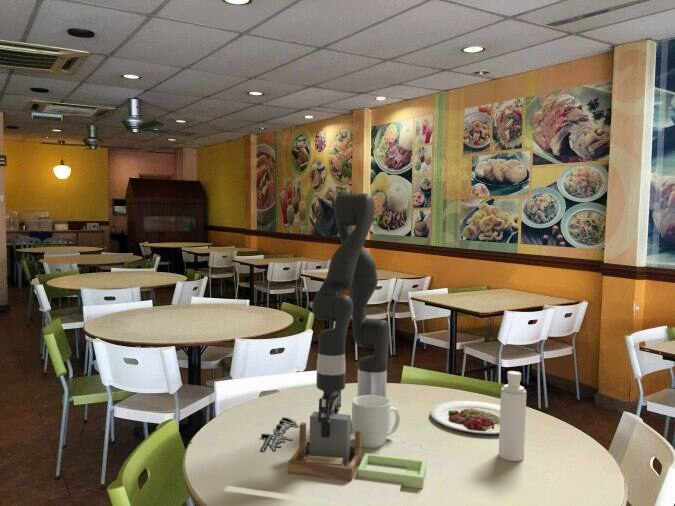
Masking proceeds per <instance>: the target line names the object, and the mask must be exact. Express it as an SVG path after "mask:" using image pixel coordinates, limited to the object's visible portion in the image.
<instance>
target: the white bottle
mask: <svg viewBox="0 0 675 506" xmlns="http://www.w3.org/2000/svg"><path fill="white" fill-rule="evenodd" d="M506 375H507V378H506V379H507V384H504V385H503V386H502V387H501V388H500V403H499V405H500V432H499V435H498V455H499V458H501V459H502V460H504V461H505V460H506V461H510V462H520V461H523V460H524V459H525V445H526V444H525V439H526V418H527V417H526V415H527V390H526V389H525V386H522V385H521V384H520V383H521V381H522V373H521V372H520V371H515V370H509V371H507V374H506Z"/></svg>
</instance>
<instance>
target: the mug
mask: <svg viewBox="0 0 675 506" xmlns="http://www.w3.org/2000/svg"><path fill="white" fill-rule="evenodd" d="M351 402H352V403H351V404H352V405H351V426H352V427H351V429H352V432H353V437H355V431H356V429H357V428H358V429H361V447H364V448H371V449H373V448H380V447H382V446H383V445H384V444H385V442H386V440H387V438H388V437H389V436H390V435H391V436H392V435H393V434H394V433H395V432H396V431H397V430H398V428H399V427H400V426H399V425H400V421H401V416H400V413H399V411H398V409H397V408H396V407H393V406H391V400H390V399H389V398H388V397H386V398H385V397H382V396H376V395H363V396H358V397H357V396H356V397H354V398H353V399H352V401H351ZM392 411H393V412H394V414H395V420H394V421H395V422H394V424H393V426H392V428H391V429H390V425H391V412H392Z"/></svg>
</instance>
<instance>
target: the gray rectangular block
mask: <svg viewBox="0 0 675 506" xmlns="http://www.w3.org/2000/svg"><path fill="white" fill-rule="evenodd" d="M318 416H319V411H315V410H314V411H313V412H312V413H311V415H309V441H310V445H309V455H310V456H323V457H336V458H343V464H344V466H347V464H348V462H349V460H350V446H351V428H352V427H351V426H352V414H345V413H344V414H343V413H338V414H335V413H334V414H333V415H332V416H331V422H330V436H329V438H324V437H321V423H320V422H318ZM324 418H326V414H325V415H324Z"/></svg>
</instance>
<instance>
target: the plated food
mask: <svg viewBox="0 0 675 506" xmlns="http://www.w3.org/2000/svg"><path fill="white" fill-rule="evenodd" d="M457 408H467V409H464V410H460V411H459V412H458V411H456V410H454V409H457ZM469 408H470V409H469ZM474 408H480V409H488V410H493V411H496V412H499V413H500V404H496V403H490V402H485V401H475V400H452V401H447V402H442V403H439V404H436V405H434V406H433V407H432V408H431V410H430V416H431V417H432V419H434V421H436V422H438V423H439V424H441V425H444V426H445V427H448V428H451V429H455V430H457V431H458V430H459V431H463V432H468V433H473V434H474V433H475V434H487V435H490V434H491V435H493V434H494V435H498V434H499V432H500V431H498V430H497V431H492V432H485V431H486V430H488V429H490V428H492V429H494V425H495V424H497V425H500V417H498V416H496V415H494V414H491V413H489V412H487V413H486V412H485V411H480V410H476V409H474ZM496 429H500V428H496ZM496 429H495V430H496Z"/></svg>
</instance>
